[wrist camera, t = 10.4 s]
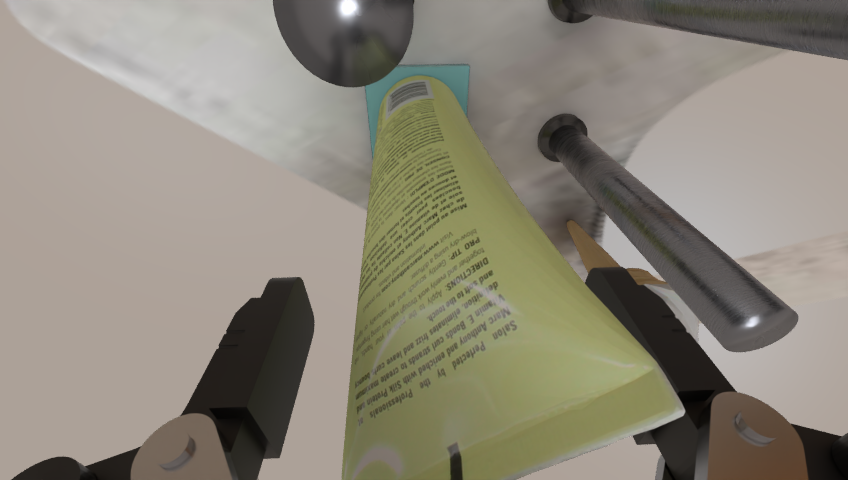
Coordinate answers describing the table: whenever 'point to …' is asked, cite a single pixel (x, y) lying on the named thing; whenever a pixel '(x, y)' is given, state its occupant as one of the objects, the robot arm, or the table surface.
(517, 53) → the table surface
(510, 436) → the tube
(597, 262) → the ice cream cone
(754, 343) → the wire posts
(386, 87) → the pad
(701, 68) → the table surface
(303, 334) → the robot arm
